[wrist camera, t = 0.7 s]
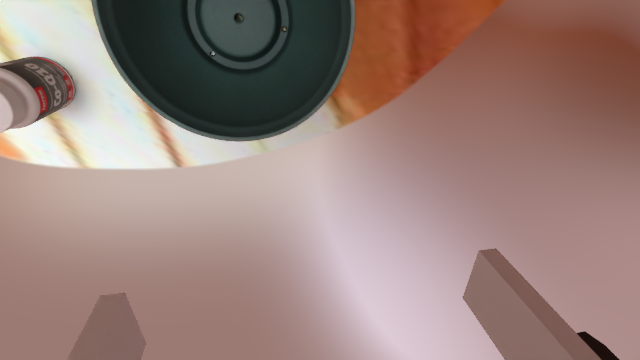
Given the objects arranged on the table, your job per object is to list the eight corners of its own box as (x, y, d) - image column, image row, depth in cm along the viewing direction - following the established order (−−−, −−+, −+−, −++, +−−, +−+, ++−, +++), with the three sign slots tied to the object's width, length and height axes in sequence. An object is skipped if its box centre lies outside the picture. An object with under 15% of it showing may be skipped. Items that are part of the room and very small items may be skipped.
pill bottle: (87, 97, 31) (36, 126, 24) (42, 115, 31) (-24, 149, 24) (51, 47, 28) (-18, 62, 21) (2, 66, 28) (-85, 88, 21)
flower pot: (166, -141, 24) (109, -231, 15) (353, -35, 29) (398, -53, 20) (131, 68, 30) (75, 97, 21) (291, 123, 36) (303, 166, 26)
